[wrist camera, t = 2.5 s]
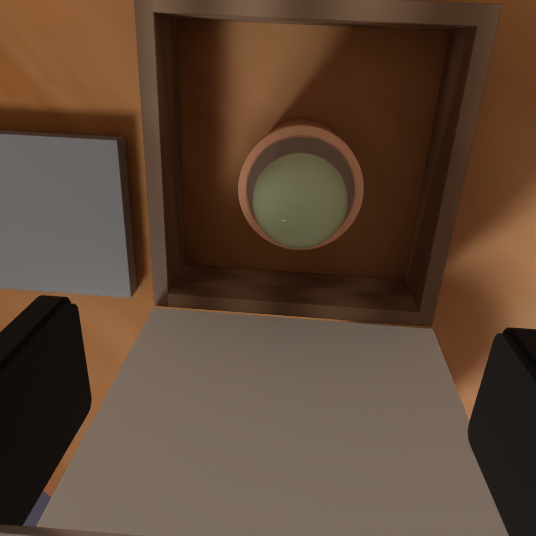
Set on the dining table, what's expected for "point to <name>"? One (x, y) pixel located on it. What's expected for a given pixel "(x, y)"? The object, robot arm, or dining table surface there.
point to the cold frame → (294, 283)
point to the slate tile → (65, 214)
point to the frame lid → (277, 435)
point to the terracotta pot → (301, 185)
